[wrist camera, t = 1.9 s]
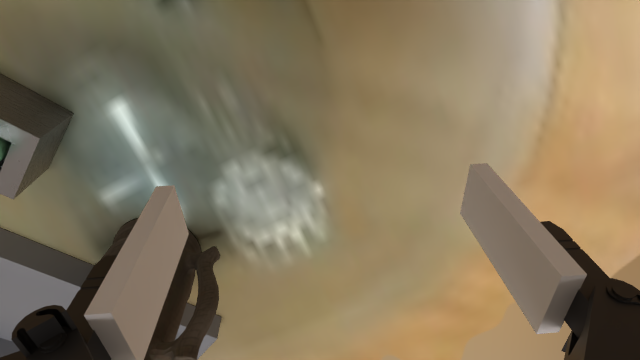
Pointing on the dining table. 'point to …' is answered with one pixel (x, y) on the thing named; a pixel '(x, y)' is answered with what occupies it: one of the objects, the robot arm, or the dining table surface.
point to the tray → (49, 286)
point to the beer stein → (181, 300)
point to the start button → (4, 148)
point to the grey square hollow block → (27, 135)
